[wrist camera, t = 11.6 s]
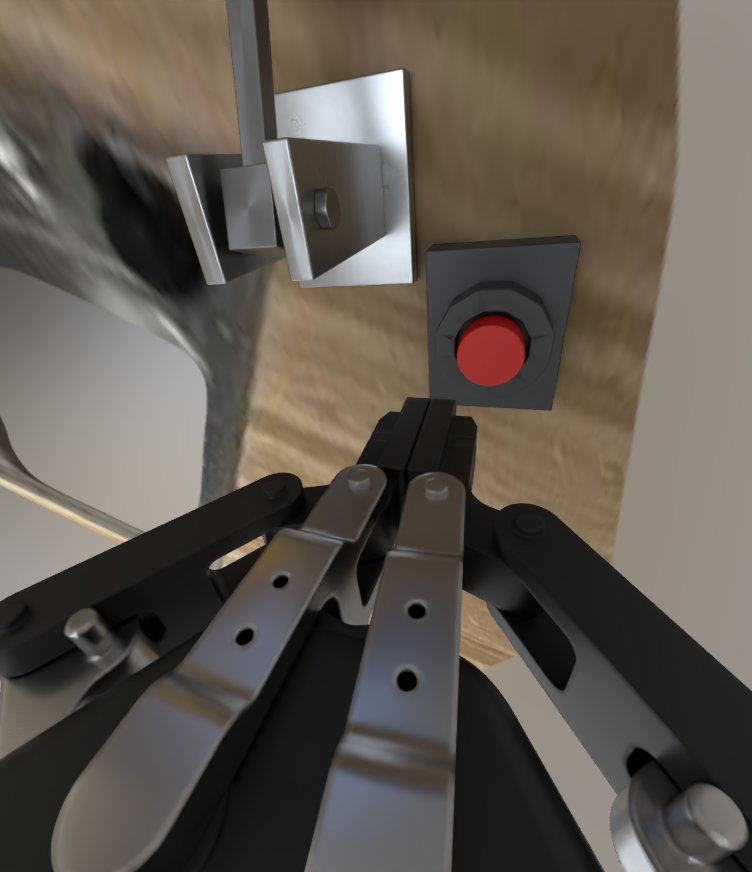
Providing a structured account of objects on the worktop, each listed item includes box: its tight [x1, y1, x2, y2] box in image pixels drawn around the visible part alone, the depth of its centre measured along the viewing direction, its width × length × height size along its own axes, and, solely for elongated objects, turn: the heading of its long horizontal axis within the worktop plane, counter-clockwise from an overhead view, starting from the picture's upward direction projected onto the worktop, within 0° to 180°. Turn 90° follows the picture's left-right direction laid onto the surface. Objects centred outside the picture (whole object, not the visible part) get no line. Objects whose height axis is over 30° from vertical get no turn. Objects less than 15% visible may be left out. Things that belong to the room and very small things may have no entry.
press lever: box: [220, 0, 286, 258], centre depth 14 cm, size 12×6×2 cm, turn 6°
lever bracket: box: [165, 68, 417, 288], centre depth 19 cm, size 10×8×12 cm
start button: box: [457, 315, 525, 386], centre depth 22 cm, size 4×4×2 cm
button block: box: [426, 235, 581, 410], centre depth 24 cm, size 10×8×4 cm
